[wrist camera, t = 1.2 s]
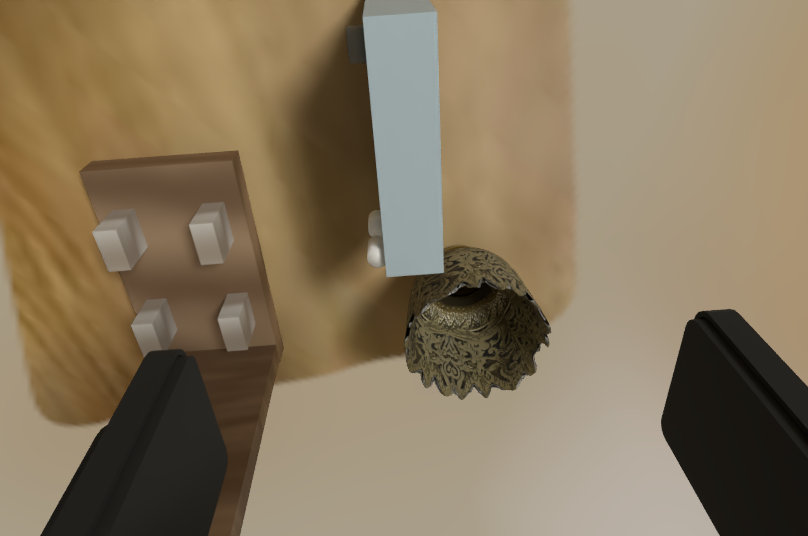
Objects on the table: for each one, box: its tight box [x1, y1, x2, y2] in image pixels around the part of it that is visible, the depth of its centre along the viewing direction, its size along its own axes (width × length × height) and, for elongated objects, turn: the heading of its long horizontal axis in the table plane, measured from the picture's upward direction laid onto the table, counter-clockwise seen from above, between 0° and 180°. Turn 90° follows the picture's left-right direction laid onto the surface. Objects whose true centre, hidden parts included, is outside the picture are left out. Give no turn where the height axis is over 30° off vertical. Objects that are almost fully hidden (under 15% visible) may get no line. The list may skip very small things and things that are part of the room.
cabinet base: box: [79, 151, 283, 536], centre depth 27 cm, size 14×8×16 cm, turn 4°
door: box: [346, 0, 444, 277], centre depth 25 cm, size 10×3×10 cm, turn 4°
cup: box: [404, 245, 551, 400], centre depth 31 cm, size 8×7×8 cm
